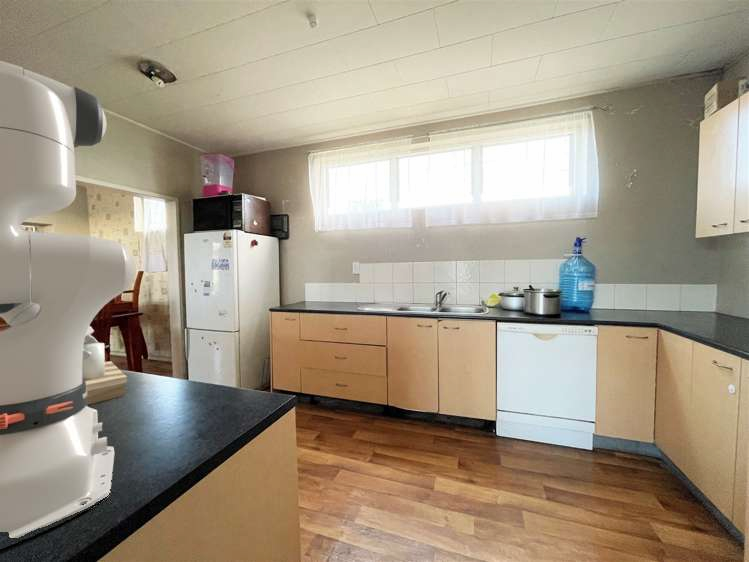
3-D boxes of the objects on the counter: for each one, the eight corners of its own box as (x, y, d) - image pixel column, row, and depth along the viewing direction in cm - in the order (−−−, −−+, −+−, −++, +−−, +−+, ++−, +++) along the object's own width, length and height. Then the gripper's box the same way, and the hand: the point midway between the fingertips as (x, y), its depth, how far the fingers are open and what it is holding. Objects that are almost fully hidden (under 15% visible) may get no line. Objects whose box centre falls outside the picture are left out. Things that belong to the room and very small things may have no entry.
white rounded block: (109, 374, 82) (109, 343, 82) (87, 381, 77) (87, 347, 77) (96, 373, 84) (95, 342, 83) (74, 379, 79) (73, 346, 78)
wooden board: (127, 395, 81) (127, 376, 81) (50, 413, 70) (50, 392, 70) (111, 376, 95) (110, 361, 95) (45, 390, 84) (44, 372, 84)
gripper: (34, 314, 68) (93, 352, 73) (69, 305, 85) (115, 336, 90) (5, 336, 65) (68, 373, 71) (47, 322, 83) (95, 353, 88)
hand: (94, 352), depth 81 cm, fingers open, 8 cm apart
